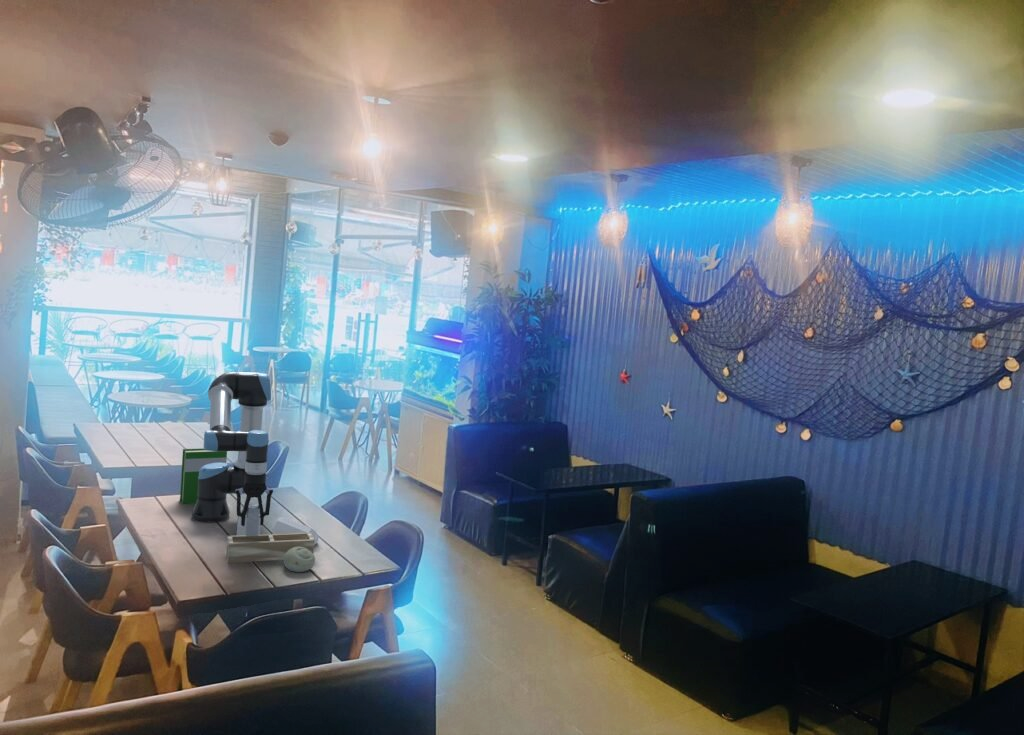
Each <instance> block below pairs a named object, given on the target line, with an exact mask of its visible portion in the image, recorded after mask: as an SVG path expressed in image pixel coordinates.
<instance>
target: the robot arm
mask: <svg viewBox="0 0 1024 735" xmlns="http://www.w3.org/2000/svg"><path fill="white" fill-rule="evenodd" d="M211 382H212V383H210V385H209V388H208V392H207V393H208V400H209V401H210V410H209V414H210V415H209V430H205V431H204V432H203V433H204V435H203V436H204V437H203V448H204V449H205V450H207V451H227V452H238V456H237V460H235V461H234V463H233V466H230V465H229V463H227V462H226V463H222V462H220V463H211V464H207V465H204V466H202V467H201V468H200V470H199V476H198V479H199V481H198V496H197V502H196V504H194V507H193V509H192V512H191V519H192V520H193V521H195V522H200V523H218V522H223V521H226V520H228V519H229V518H230V516H231V515H230V514H231V512H230V508H229V503H228V501H227V495H228V494H229V495H233V494H236V517H238V516H240V517H241V525H242V526H244V535H246V531H247V516H246V513H247V509H248V506H249V504H250V502H251V499H252V498H256V499H257V502H258V503H257V504H259V507H260V516H259V523H258V535H260V534H261V527H260V525H261V526H263V525H264V522H265V520H264V518H265V517H266V516H269V515H270V509H271V502H272V501H271V499H272V495H273V493H274V490H273V488H272V487H270V488H269V487H268V486H267V485H266V481H267V473H266V472H267V466H268V464H267V463H268V452H269V450H268V448H269V442H270V440H269V432H267V431H265V430H262V427H263V426H262V423H263V414H264V408H265V407H267V405H268V402H269V401H272V388H271V378H270V375H269V374H267V373H264V372H263V373H261V372H252V371H251V372H250V371H249V372H248V371H247V372H246V371H245V372H243V371H228V372H227V371H226V372H224V373H222V374H221V375H219V376H218V377H216V378H215V379H214V380H213V381H211ZM233 400H238V401H237V403H238V405H239V406H240V408H241V413H240V414H241V415H240V429H239V431H238V430H237V431H236V430H235V431H234V430H231V429H232V428H231V427H232V426H231V425H232V424H231V420H232V419H231V418H232V417H231V415H232V414H231V411H232V410H231V409H232V408H231V402H232V401H233ZM264 493H266V501H265V502H266V503H265V511H264V507H263V506H264V505H263V500H262V495H263V494H264ZM242 494H243V495H245V494H246V497H245V501H244V505H243V508H242V509H241V507H242V506H241V504H242V500H241V497H242V496H241V495H242ZM241 510H243V511H242V513H241V512H240V511H241Z"/></svg>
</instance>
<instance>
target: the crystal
mask: <svg viewBox="0 0 1024 735" xmlns="http://www.w3.org/2000/svg"><path fill="white" fill-rule="evenodd" d="M308 532H311V534H312V536H313V538H314V546H315V545H317V543H319V535H318V533H317V531H316V530H315V529H314V528H311V527H309V526H307V525H305V524H301V523H299V522H296V521H294V520H290V519H288V518H286V517H284V516H280V517H278V518H277V519H276V522H275V524H274V526H273V528H272V532H271V534H284V533H308Z"/></svg>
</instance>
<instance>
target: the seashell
mask: <svg viewBox="0 0 1024 735" xmlns="http://www.w3.org/2000/svg"><path fill="white" fill-rule="evenodd" d="M315 563H316V558H315V555H314V554H313V553H312V552H310V551H309V550H308V549H307V548H304V547H294V548H291V549H290V550H288V551H287V552H286V554H285V556H284V560H283V564H284V566H285V567H286V568H287V569H288V570H289V571H291V572H292V573H293V572H295V573H304V572H308V571H309V570H311V569H312V568H313V566H314V565H315Z"/></svg>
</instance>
